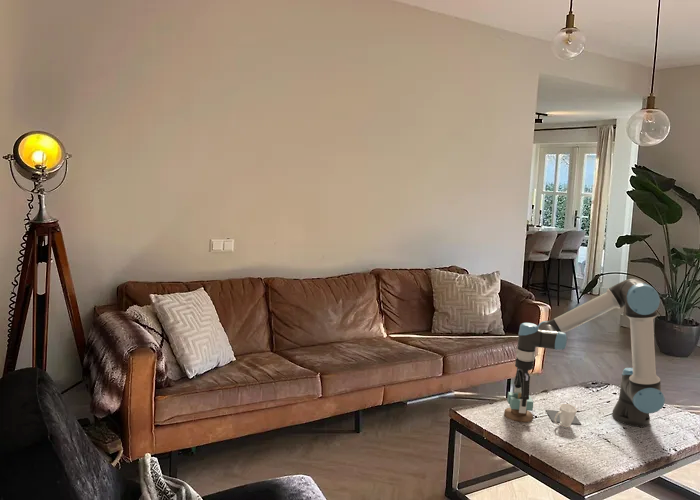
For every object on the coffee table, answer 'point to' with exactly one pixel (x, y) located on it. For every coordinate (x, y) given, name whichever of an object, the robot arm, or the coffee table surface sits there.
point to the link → (518, 401)
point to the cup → (566, 415)
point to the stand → (518, 414)
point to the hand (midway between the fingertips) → (519, 407)
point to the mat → (552, 416)
